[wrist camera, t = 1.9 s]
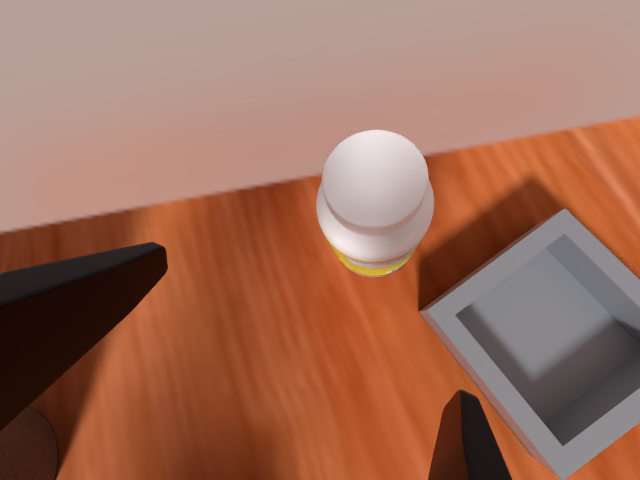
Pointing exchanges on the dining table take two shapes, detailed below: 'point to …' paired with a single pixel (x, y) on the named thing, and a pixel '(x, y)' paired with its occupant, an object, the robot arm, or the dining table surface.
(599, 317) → the can holder
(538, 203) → the dining table surface
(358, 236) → the supplement bottle
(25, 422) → the plant pot
